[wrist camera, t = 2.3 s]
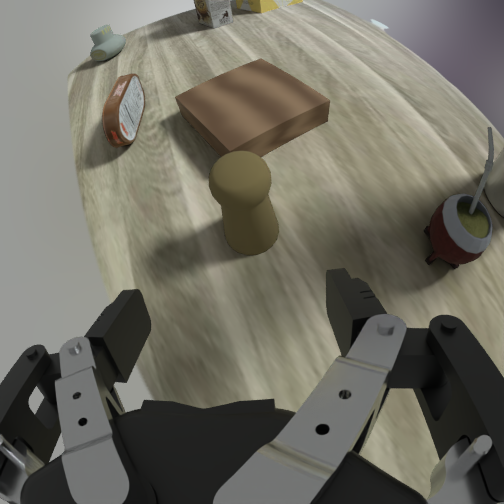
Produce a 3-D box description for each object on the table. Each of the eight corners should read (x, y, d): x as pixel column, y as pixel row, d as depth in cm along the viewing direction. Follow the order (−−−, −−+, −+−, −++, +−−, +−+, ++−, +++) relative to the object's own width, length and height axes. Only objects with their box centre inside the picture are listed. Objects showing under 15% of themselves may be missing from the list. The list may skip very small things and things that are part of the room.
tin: (136, 101, 45) (120, 68, 37) (151, 97, 45) (136, 63, 37) (118, 158, 39) (93, 122, 31) (135, 154, 39) (111, 115, 31)
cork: (215, 243, 32) (185, 186, 21) (239, 200, 33) (221, 133, 23) (265, 263, 30) (256, 209, 20) (287, 216, 32) (287, 150, 22)
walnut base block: (262, 76, 43) (260, 58, 40) (327, 121, 37) (330, 100, 34) (182, 115, 41) (175, 97, 37) (235, 172, 35) (229, 151, 31)
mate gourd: (442, 288, 27) (527, 230, 13) (401, 236, 30) (461, 151, 16) (472, 252, 28) (544, 188, 14) (434, 205, 31) (489, 125, 17)
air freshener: (133, 45, 59) (122, 19, 49) (115, 60, 56) (102, 33, 47) (108, 50, 61) (97, 26, 52) (90, 65, 58) (78, 40, 49)
